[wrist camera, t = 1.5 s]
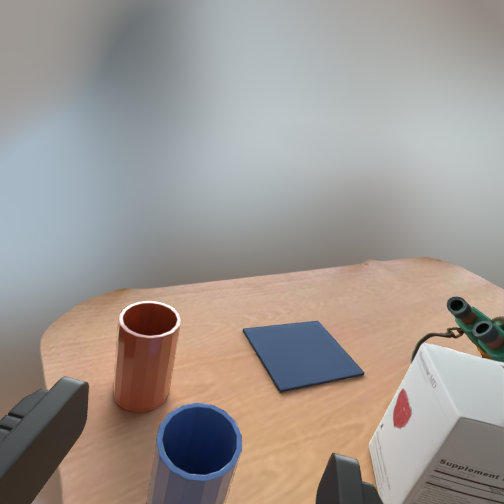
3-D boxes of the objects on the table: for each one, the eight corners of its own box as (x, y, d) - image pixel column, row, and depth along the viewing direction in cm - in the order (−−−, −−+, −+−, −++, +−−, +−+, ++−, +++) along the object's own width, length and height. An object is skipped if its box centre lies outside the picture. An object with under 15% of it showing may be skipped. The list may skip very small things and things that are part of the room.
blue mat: (279, 392, 44) (280, 390, 44) (242, 330, 54) (243, 328, 53) (363, 374, 51) (364, 372, 50) (317, 322, 60) (318, 320, 60)
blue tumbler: (151, 577, 26) (167, 492, 21) (138, 493, 30) (149, 411, 26) (227, 545, 28) (255, 465, 24) (205, 473, 33) (224, 396, 29)
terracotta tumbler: (116, 418, 36) (122, 341, 32) (110, 374, 41) (115, 302, 37) (174, 406, 39) (187, 334, 35) (163, 367, 44) (173, 299, 40)
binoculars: (479, 460, 46) (587, 391, 42) (422, 417, 40) (540, 333, 36) (420, 377, 58) (498, 318, 54) (370, 336, 53) (454, 267, 49)
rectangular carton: (365, 442, 40) (420, 338, 34) (443, 462, 40) (512, 362, 34) (383, 531, 32) (459, 415, 26) (481, 557, 32) (581, 447, 26)
